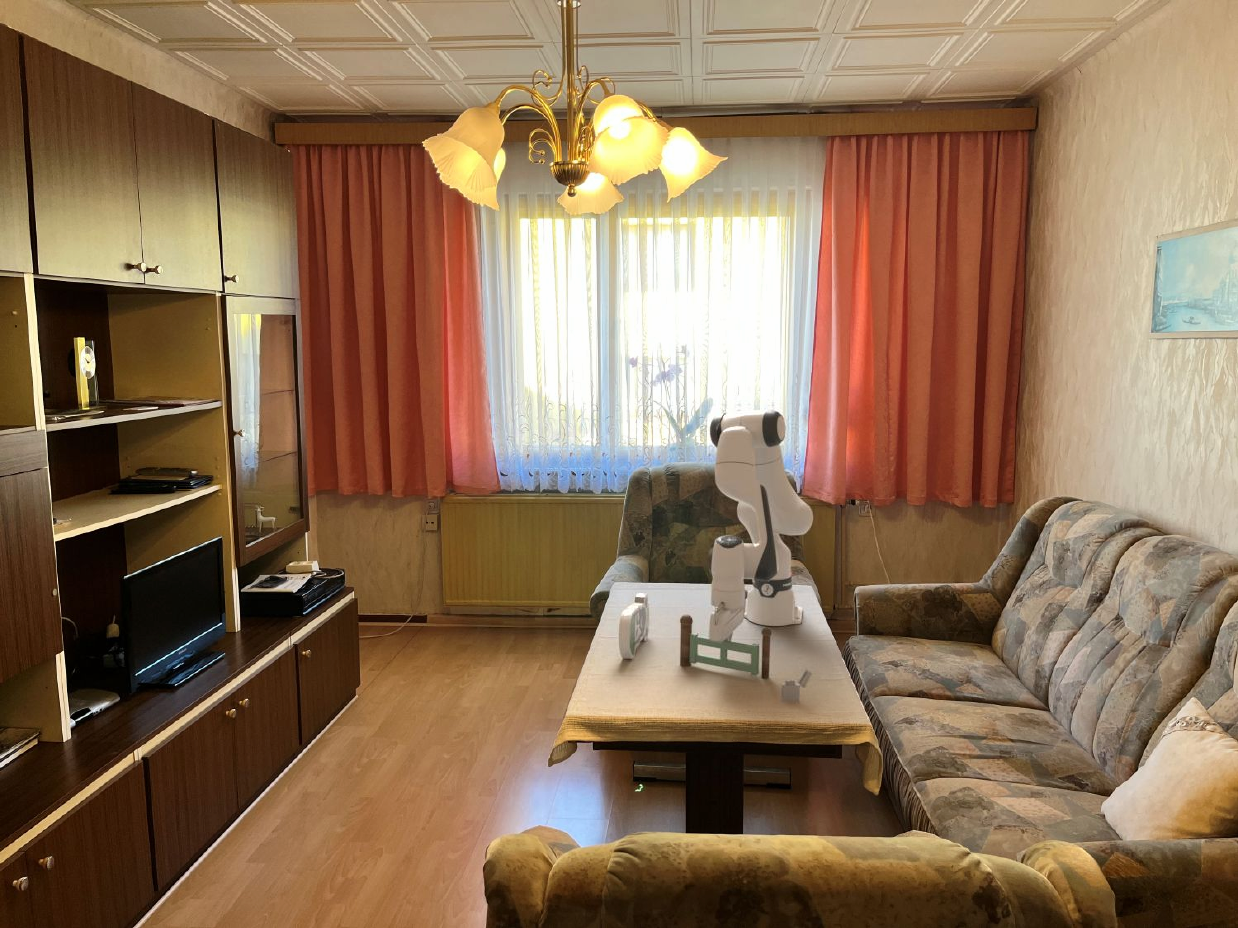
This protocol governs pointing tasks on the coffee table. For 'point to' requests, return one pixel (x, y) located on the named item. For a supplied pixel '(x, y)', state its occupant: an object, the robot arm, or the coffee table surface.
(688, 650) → the gate posts
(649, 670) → the coffee table surface
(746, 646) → the gate
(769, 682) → the coffee table surface
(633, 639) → the cutout
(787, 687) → the lighter
